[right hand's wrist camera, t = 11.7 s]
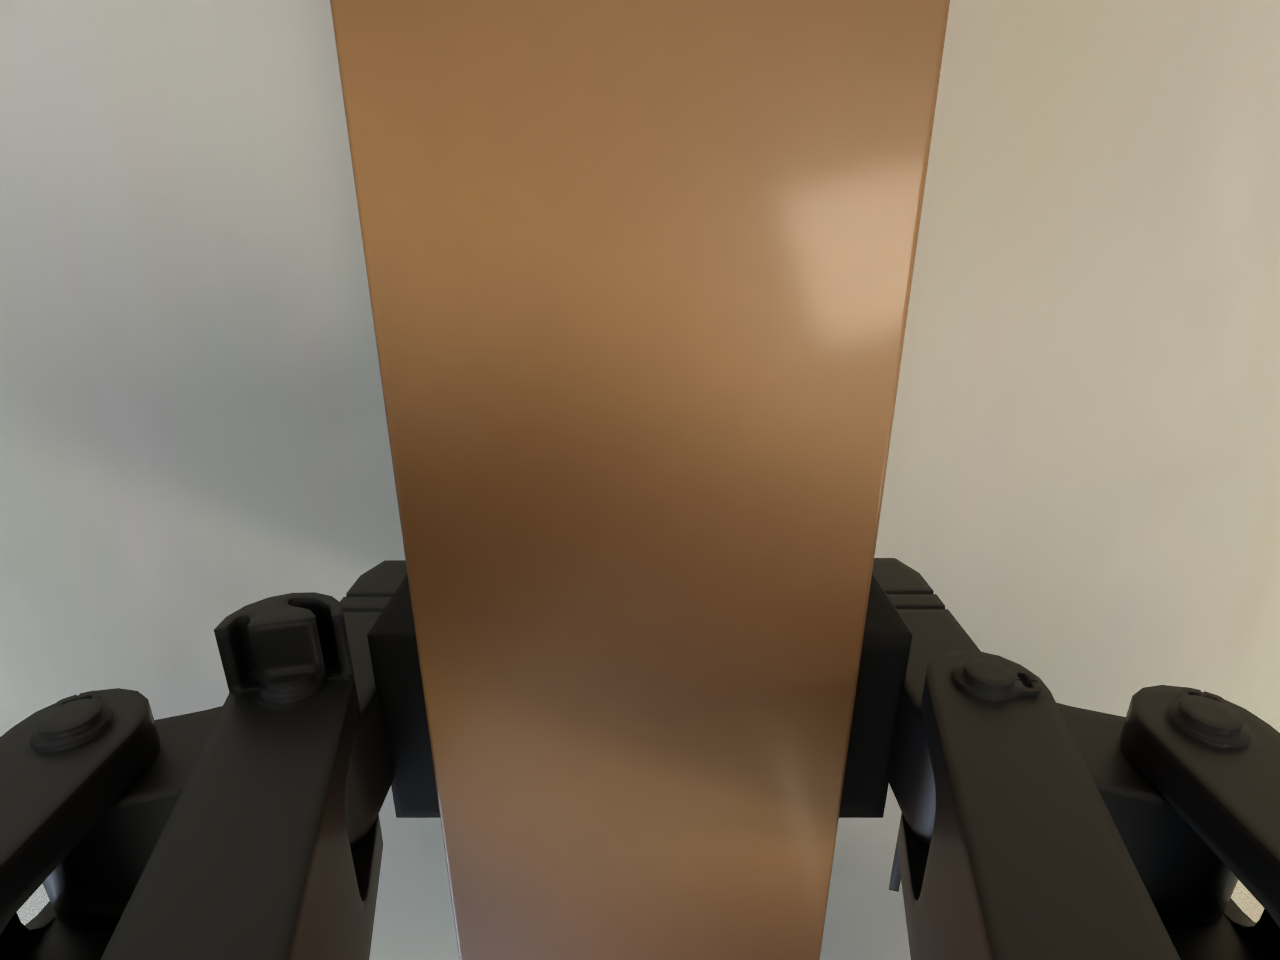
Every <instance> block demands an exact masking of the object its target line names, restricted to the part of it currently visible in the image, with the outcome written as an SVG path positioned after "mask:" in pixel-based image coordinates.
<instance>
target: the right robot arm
mask: <svg viewBox="0 0 1280 960" xmlns="http://www.w3.org/2000/svg"><path fill="white" fill-rule="evenodd" d="M214 632H215V636H216V640H217V644H218V648H219V652H220V656H221V660H222V664H223V668H224V672H225V676H226V680H227V684H228V688H229V692H230V693H229V695H228V697H227V699H226V701H225V703H224V705H223V706H221V707H217V708H213V709H209V710H205V711H200V712H195V713H190V714H185V715H180V716H175V717H170V718H165V719H160V720H155V721H154V718H153V715H152V711H151V708H150V705H149V702H148V699H147V698H146V697H144V696H143V695H142V694H140V693H139V692H138V691H133V690H126V689H119V688H117V689H108V690H99V691H90V692H85V693H81V694H80V695H78V696H77V695H74V696H71V697H68V698H64V699H62V700H60V701H58V702H57V703H55V704H53V705H51V706H48V707H46V708H44V709H42V710H39V711H37V712H35V713H34V714H32V715H31V716H29V717H28V718H26V719H25V720H23V721H22V722H20V723H19V724H17V725H16V726H14V727H13V728H11V729H10V730H9V731H7V732H6V733H5V734H4V735H3V736H1V737H0V960H369V956H370V948H371V940H372V931H373V923H374V915H375V907H376V899H377V890H378V882H379V874H380V866H381V858H382V849H383V840H382V833H381V827H380V821H379V815H378V813H379V811H380V809H381V807H382V804H383V802H384V800H385V797H386V795H387V793H388V791H389V788H390V786H392V792H393V798H394V805H395V811H396V817H397V818H424V817H440V810H439V803H438V795H437V788H436V780H435V773H434V766H433V758H432V751H431V743H430V736H429V729H428V721H427V714H426V706H425V699H424V692H423V684H422V677H421V669H420V662H419V654H418V647H417V640H416V632H415V625H414V617H413V610H412V603H411V595H410V588H409V580H408V573H407V566H406V561H383V562H382V563H380V564H379V565H377V566H375V567H374V568H372V569H370V570H369V571H367V572H366V573H364V574H362V575H361V576H360V577H359V578H358V580H357V581H356V582H355V583H354V585H353V586H352V587H351V588H350V590H349V591H348V592H347V596H346V597H343V599H342V600H341V601H340V602H339V601H337V600H336V599H335V598H333V597H332V596H328V595H324V594H319V593H290V594H285V595H280V596H274V597H269V598H266V599H263V600H261V601H258V602H255V603H252V604H250V605H247V606H245V607H243V608H241V609H239V610H238V611H236V612H234V613H232V614H231V615H229V616H227V617H226V618H225V619H224V620H223V621H222V622H221V623H220V624H219V625H218V626H217V627H216V628H215V629H214ZM888 783H889V784H890V786H891V788H892V790H893V793H894V795H895V797H896V799H897V802H898V804H899V806H900V809H901V811H902V815H901V821H900V827H899V832H898V838H897V844H896V850H895V855H894V861H893V867H892V873H891V879H890V886H889V890H893V891H899V886H900V881H902V889H903V897H904V905H905V913H906V922H907V930H908V938H909V946H910V954H911V960H1280V733H1279V732H1278V731H1276V730H1275V729H1274V728H1273V727H1271V726H1270V725H1269V724H1267V723H1266V722H1264V721H1263V720H1261V719H1260V718H1258V717H1257V716H1255V715H1254V714H1252V713H1250V712H1249V711H1247V710H1246V709H1244V708H1242V707H1240V706H1237V705H1235V704H1233V703H1231V702H1229V701H1226V700H1224V699H1223V698H1221V697H1219V696H1217V695H1214V694H1211V693H1208V692H1205V691H1204V692H1201V690H1197V689H1192V688H1186V687H1175V686H1166V685H1159V686H1152V687H1146V688H1142V689H1141V690H1140V691H1138V692H1137V693H1136V694H1134V695H1133V696H1132V699H1131V703H1130V706H1129V709H1128V713H1127V716H1126V717H1121V716H1116V715H1111V714H1106V713H1101V712H1096V711H1091V710H1086V709H1081V708H1076V707H1071V706H1067V705H1063V704H1059V703H1056V702H1055V700H1054V698H1053V696H1052V694H1051V692H1050V691H1049V689H1048V688H1047V687H1046V686H1045V684H1044V683H1043V682H1042V681H1041V679H1040V678H1039V677H1037V676H1036V675H1035V674H1033V673H1032V672H1030V671H1029V670H1027V669H1026V668H1024V667H1023V666H1021V665H1019V664H1017V663H1015V662H1012V661H1010V660H1007V659H1005V658H1003V657H1000V656H997V655H993V654H988V653H984V652H981V651H980V650H979V649H978V647H977V646H976V645H975V643H974V642H973V641H972V640H971V638H970V637H969V636H968V635H967V633H966V632H965V631H964V629H963V628H962V627H961V626H960V624H959V623H958V622H957V621H956V619H955V618H954V617H953V615H952V614H951V613H950V612H949V610H948V609H945V605H944V604H943V603H942V601H941V600H940V599H939V598H938V596H937V595H934V594H933V590H932V589H931V587H930V586H929V585H928V584H927V582H926V581H925V580H924V579H923V577H922V576H921V575H920V573H918V572H916V571H915V570H913V569H912V568H910V567H908V566H907V565H905V564H903V563H902V562H900V561H899V560H897V559H895V558H874V562H873V569H872V576H871V584H870V591H869V598H868V606H867V613H866V620H865V628H864V635H863V643H862V650H861V657H860V665H859V672H858V679H857V687H856V694H855V701H854V709H853V716H852V723H851V731H850V738H849V745H848V753H847V760H846V767H845V775H844V782H843V790H842V797H841V804H840V812H839V817H860V818H883V814H884V808H885V802H886V796H887V789H888ZM1238 879H1239V880H1240V882H1241V883H1242V884H1243V885H1244V886H1245V887H1246V888H1247V889H1248V890H1249V891H1250V893H1251V894H1252V895H1253V896H1254V897H1255V898H1256V899H1257V900H1258V901H1259V902H1260V904H1261V905H1262V906H1263V907H1264V908H1265V909H1264V911H1263V913H1262V916H1261V918H1260V920H1259V921H1258V922H1257V923H1255V922H1253V921H1252V920H1251V919H1250V918H1249V917H1248V916H1247V915H1246V914H1245V913H1243V912H1242V910H1241V909H1240V908H1239V907H1238V906H1237V905H1236V904H1235V902H1234V901H1233V900H1232V899H1231V895H1232V893H1233V891H1234V888H1235V886H1236V883H1237V881H1238ZM42 883H43V885H44V887H45V890H46V892H47V895H48V897H49V900H50V901H49V903H48V904H47V905H46V906H45V907H44V908H43V909H42V911H41V912H40V913H39V914H38V915H37V916H36V917H35V918H34V919H32V920H31V921H30V922H29V923H28V924H26V925H25V926H24V925H23V924H22V923H21V922H20V920H19V917H18V915H17V913H16V912H17V911H18V910H19V908H20V907H21V906H22V905H23V904H24V903H25V902H26V901H27V900H28V898H29V897H30V896H31V895H32V894H33V893H34V892H35V891H36V890H37V888H38V887H39V886H40V885H41V884H42Z"/></svg>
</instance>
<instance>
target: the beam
mask: <svg viewBox="0 0 1280 960" xmlns="http://www.w3.org/2000/svg"><path fill="white" fill-rule="evenodd" d="M330 3H331V10H332V18H333V25H334V32H335V40H336V47H337V55H338V62H339V69H340V77H341V84H342V92H343V99H344V106H345V114H346V121H347V129H348V136H349V144H350V151H351V158H352V166H353V173H354V181H355V188H356V195H357V203H358V210H359V218H360V225H361V232H362V240H363V247H364V255H365V262H366V269H367V277H368V284H369V292H370V299H371V306H372V314H373V321H374V329H375V336H376V343H377V351H378V358H379V366H380V373H381V380H382V388H383V395H384V403H385V410H386V418H387V425H388V432H389V440H390V447H391V455H392V462H393V469H394V477H395V484H396V492H397V499H398V506H399V514H400V521H401V529H402V536H403V543H404V551H405V558H406V566H407V573H408V580H409V588H410V595H411V603H412V610H413V617H414V625H415V632H416V640H417V647H418V654H419V662H420V669H421V677H422V684H423V692H424V699H425V706H426V714H427V721H428V729H429V736H430V743H431V751H432V758H433V766H434V773H435V780H436V788H437V795H438V803H439V810H440V817H441V825H442V832H443V840H444V847H445V854H446V862H447V869H448V877H449V884H450V891H451V899H452V906H453V914H454V921H455V928H456V936H457V943H458V951H459V958H460V960H819V959H820V951H821V944H822V937H823V929H824V922H825V915H826V907H827V900H828V892H829V885H830V878H831V870H832V863H833V856H834V848H835V841H836V834H837V826H838V819H839V812H840V804H841V797H842V790H843V782H844V775H845V767H846V760H847V753H848V745H849V738H850V731H851V723H852V716H853V709H854V701H855V694H856V687H857V679H858V672H859V665H860V657H861V650H862V643H863V635H864V628H865V620H866V613H867V606H868V598H869V591H870V584H871V576H872V569H873V562H874V554H875V547H876V540H877V532H878V525H879V518H880V510H881V503H882V495H883V488H884V481H885V473H886V466H887V459H888V451H889V444H890V437H891V429H892V422H893V415H894V407H895V400H896V393H897V385H898V378H899V371H900V363H901V356H902V348H903V341H904V334H905V326H906V319H907V312H908V304H909V297H910V290H911V282H912V275H913V268H914V260H915V253H916V246H917V238H918V231H919V223H920V216H921V209H922V201H923V194H924V187H925V179H926V172H927V165H928V157H929V150H930V143H931V135H932V128H933V121H934V113H935V106H936V98H937V91H938V84H939V76H940V69H941V62H942V54H943V47H944V40H945V32H946V25H947V18H948V10H949V3H950V0H330Z"/></svg>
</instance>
